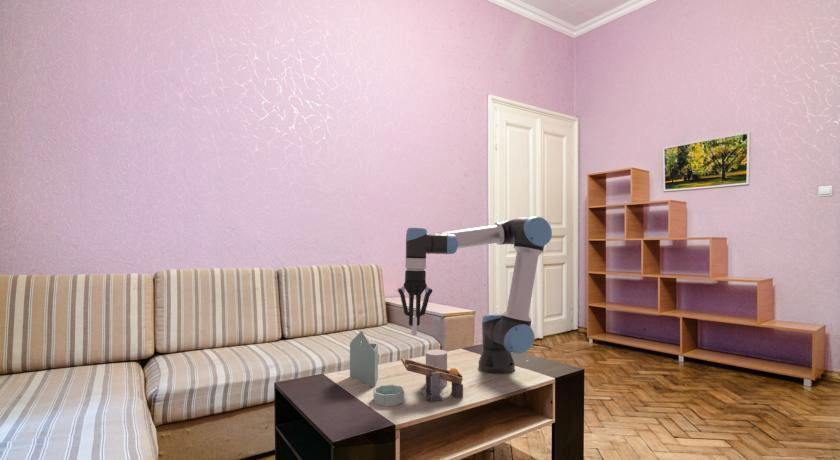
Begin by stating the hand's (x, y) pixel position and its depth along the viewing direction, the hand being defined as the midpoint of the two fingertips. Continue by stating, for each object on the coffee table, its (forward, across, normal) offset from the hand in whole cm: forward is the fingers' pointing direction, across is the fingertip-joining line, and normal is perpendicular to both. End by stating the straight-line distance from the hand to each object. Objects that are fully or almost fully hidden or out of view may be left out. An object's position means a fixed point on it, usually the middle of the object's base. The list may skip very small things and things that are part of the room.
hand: (413, 334), depth 161 cm
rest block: (+20, -15, +7) cm, 26 cm away
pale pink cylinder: (+20, -10, -5) cm, 23 cm away
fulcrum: (+20, -6, +7) cm, 22 cm away
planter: (+21, +14, -16) cm, 30 cm away
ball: (+12, -13, +7) cm, 20 cm away
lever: (+13, -5, +4) cm, 14 cm away
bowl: (+21, +10, +7) cm, 24 cm away
